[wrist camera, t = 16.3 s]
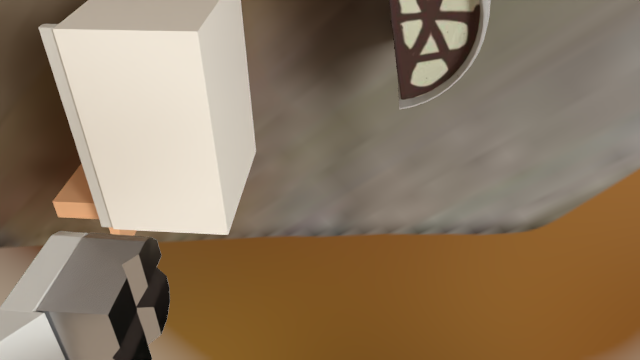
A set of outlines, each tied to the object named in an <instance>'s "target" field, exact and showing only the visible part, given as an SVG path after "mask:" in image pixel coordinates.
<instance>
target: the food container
mask: <svg viewBox="0 0 640 360" xmlns="http://www.w3.org/2000/svg"><path fill="white" fill-rule="evenodd" d="M389 4H390V13H391V24H392V29H393V37H394V38H393V40H394V49H395V56H396V64H397V66H396V67H397V73H398V91H399V109H404V108H409V107H413V106H416V105H419V104H422V103H425V102H427V101H429V100H431V99H433V98H435V97H437V96H439V95H440V94H442V93H443V92H445V91H446V90H448V89H449V88H450V87H451V86H452V85H453V84H454V83H456V82H457V81H458V80H459V79H460V78H461V77H462V76H463V75H464V73H465V72H466V71H467V70H468V69H469V67H470V66H471V65H472V63H473V61H474V60H475V58H476V56H477V55H478V53H479V51H480V48H481V46H482V43H483V41H484V38H485V34H486V29H487V25H488V20H489V15H490V0H389Z"/></svg>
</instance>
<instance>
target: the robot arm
mask: <svg viewBox="0 0 640 360" xmlns="http://www.w3.org/2000/svg"><path fill="white" fill-rule="evenodd" d="M160 258H161V253H160V249H159V246H158V242H157V240H156V239H154V238H152V237H143V236H130V235H116V234H103V233H79V232H67V231H59V232H57V233H55V234H53V235H52V236H51V237H50V238H49V239H48V241H47V242H46V243H45V245H44V246H43V248H42V249H41V251H40V252H39V253H38V255H37V256H36V257H35V259H34V260H33V262H32V263H31V265H30V266H29V267H28V269H27V270H26V271H25V273H24V274H23V276H22V277H21V279H20V280H19V282H18V283H17V284H16V286H15V287H14V288H13V290H12V291H11V293H10V294H9V295H8V297H7V298H6V300H5V301H4V302H3V304H2V305H1V307H0V360H152V357H151V354H150V350H149V347H148V345H149V344H150V343H151V342H153V341H154V340H155V339H156V338H158V337H159V336H160V335H161V334H162V331H163V329H164V326H165V323H166V321H167V316H168V310H169V304H170V293H169V284H168V280H167V276H166V275H165V274H163V273H162V272H161V271H160V270H159V269H158V268H157V265H158V263H159V260H160Z"/></svg>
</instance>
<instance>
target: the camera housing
mask: <svg viewBox="0 0 640 360" xmlns="http://www.w3.org/2000/svg"><path fill="white" fill-rule="evenodd" d="M38 28H39V31H40V34H41V37H42V40H43V44H44V47H45V50H46V53H47V56H48V59H49V62H50V65H51V69H52V72H53V75H54V78H55V81H56V84H57V87H58V91H59V94H60V97H61V100H62V103H63V106H64V109H65V113H66V116H67V119H68V122H69V125H70V128H71V131H72V135H73V138H74V141H75V144H76V147H77V150H78V153H79V157H80V160H81V163H82V166H83V169H84V172H85V175H86V179H87V182H88V185H89V188H90V191H91V194H92V197H93V201H94V204H95V207H96V210H97V213H98V216H99V219H100V223H101V226H102V227H113V229H120V230H140V231H161V232H181V233H202V234H222V235H228V234H229V231H230V228H231V225H232V222H233V219H234V216H235V213H236V210H237V207H238V204H239V201H240V198H241V195H242V192H243V189H244V186H245V183H246V180H247V177H248V174H249V171H250V168H251V165H252V162H253V159H254V156H255V153H256V146H255V137H254V127H253V117H252V107H251V97H250V87H249V77H248V67H247V57H246V48H245V38H244V28H243V18H242V8H241V0H88V1H87V2H85V3H84V4H83V5H82V6H80V7H79V8H78V9H77V10H75V11H74V12H73V13H72V14H70V15H69V16H68V17H67V18H66V19H64V20H63V21H62V22H61V23H59V24H42V25H41V26H40V27H38Z"/></svg>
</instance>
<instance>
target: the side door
mask: <svg viewBox="0 0 640 360" xmlns="http://www.w3.org/2000/svg"><path fill="white" fill-rule="evenodd" d="M53 204H54V207H55V209H56V212H57V215H58V217H65V218H86V219H99V216H98V213H97V210H96V207H95V204H94V201H93V197H92V194H91V191H90V188H89V185H88V182H87V179H86V175H85V172H84V169H83V166H82V163H81V165H80V166H79V167H78V169H77V170H76V171H75V173H74V174H73V175H72V176H71V178H70V179H69V180H68V182H67V183H66V184H65V186H64V187H63V188H62V190H61V191H60V192H59V194H58V195H57V196H56V198H55V199H54V200H53ZM109 229H110V233H111V234H116V235H130V236H134V234H135V233H136V231H137V230H120V229H113V227H109Z"/></svg>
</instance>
